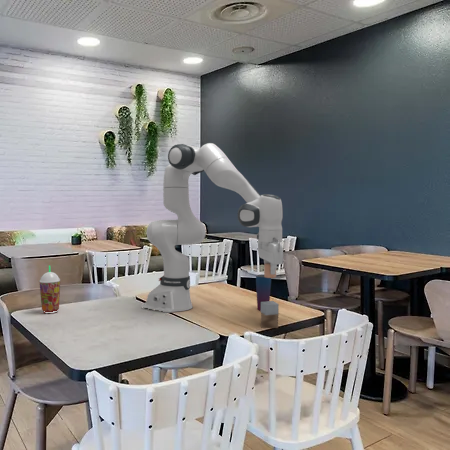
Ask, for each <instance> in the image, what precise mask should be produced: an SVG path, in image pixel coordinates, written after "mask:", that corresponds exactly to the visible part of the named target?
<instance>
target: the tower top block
mask: <svg viewBox="0 0 450 450" xmlns="http://www.w3.org/2000/svg"><path fill="white" fill-rule="evenodd" d="M279 305H280V304H279V303H278V302H276V301H274V300H270V301H265V302H261V311H260V314H261V313H263V314H265V315H276V314H278V315H279Z"/></svg>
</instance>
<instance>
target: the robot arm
mask: <svg viewBox="0 0 450 450" xmlns="http://www.w3.org/2000/svg"><path fill="white" fill-rule="evenodd" d="M167 159H168V160H167V161H168V163H169V164H168V165H166V166H165V168H164V175H163V192H162V193H163V206H164V208H165V209H166V210H167V211H170V212H171V213H174V214H175V215H176V216H177V219H160V220H155V221H151V222H150V223H149V224H148V226H147V228H146V237H147V240H148V242H149V243H150V244H152V245H153V246H155V248H157V250H158V251H159V253H160V255H161V257H162V263H163V276H161V277H159V278H158V282H160V284H158V285H157V286H156V287H155V288H153V289H152V290H150V292H149V293H148V295H147V297H146V302H143V303H142V304H141V308H142V307H143V308H148V309H147V310H149V309H155V310H159V311H158V312H161V311H163V312H162V313H169V314H170V313H174V312H183V311H189V310H191V309H192V308H193V307H194V306H193V303H192V299H191V293H190V291H191V289H190V288H191V277H190V276H191V275H190V259H189V257H188V256H187V255H186V254H184V253H182V252H181V251H179V250H176V246H180V245H181V246H184V245H185V246H187V245H189V246H190V245H195V244H200V243H202V242H203V241H204V239H206V235H207V232H206V227H205V225H204V223H203V222H202V221H201V220H199V219H198V218H197V217H196V215H195V214H194V213H193V210H192V209H191V206H190V194H189V186H190V185H189V179H190V176H191V175H193V176H196V175H198V174H201V173H205V174H206V175H207V177H208V178H209V180H211V182H212V183H213V184H214V185H215V186H217V187H220V188H222V189H227V190H230V191H233V192H236V194H239V196H241V197H242V199H244V201H245V202H246V203H243V204H241V206H239V207H238V210H237V220H238V222H239V223H240V225H241V226H242V227H246V228H258V233H257V234H256V239H257V240H258V241H257V254H258V257H259V258H260V259H263V263H264V264H265V263H270V265H271V269H270V274H275V270H276V271H277V267H278V265H283V263H284V249H283V244H282V243H281V242H283V226H282V222H283V218H284V217H283V212H284V211H283V203H282V199H281V197H280V196H278V195H274V194H267V193H264V194H260V192H258V190H257V189H256V188H255V186H253V184H252V183H251V182H250V181H249V180H248V179H247V178H246V177H245V176H244V175H243V174H242V173H241V171H239V170H238V169H237V168H236V167H235V165H234V164H233V162H232V161H231V160H230V159H229V158H228V156H227V155H226V153H224V151H223V150H222V149H221V148H220V147H219V146H218V145H216V144H215V143H212V142H208V143H205V144H203V145H202V146H199V147H198V146H195V145H190V144H189V145H188V144H184V143H180V144H175V145H173V146H172V147H170V148H169V151H168V153H167ZM143 308H142V309H143ZM155 310H154V311H155Z"/></svg>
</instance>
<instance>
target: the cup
mask: <svg viewBox="0 0 450 450" xmlns="http://www.w3.org/2000/svg"><path fill="white" fill-rule="evenodd" d="M255 286H256V289H255V290H256V305H257V311H260V312H261V302H265V301H271V300H270V298H271V286H272V278H265V277H264V273H260V274H256V275H255Z"/></svg>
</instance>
